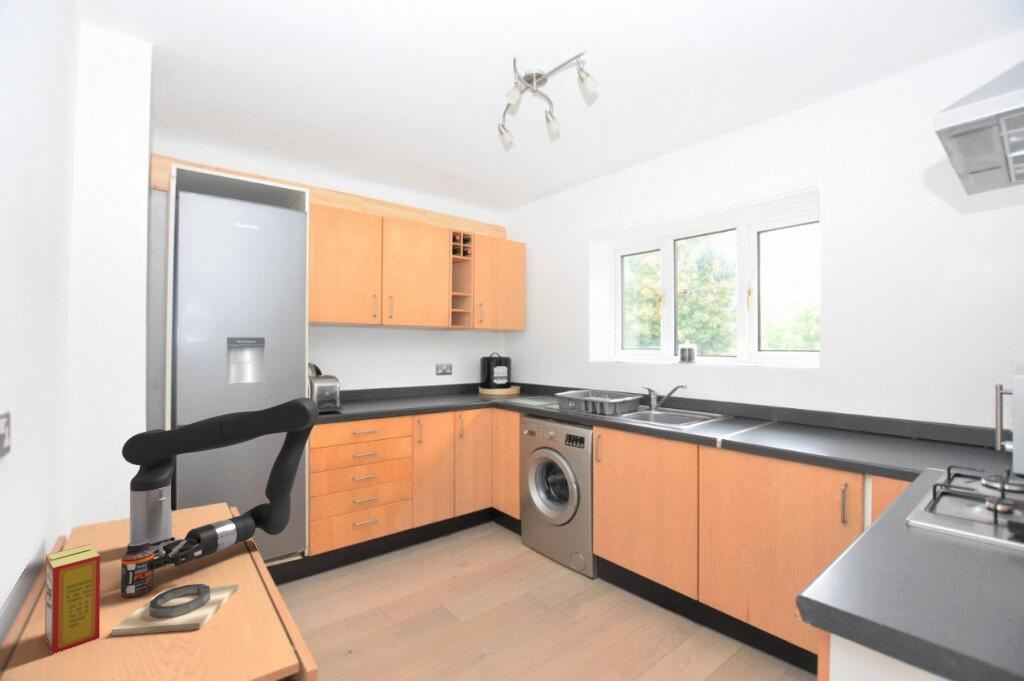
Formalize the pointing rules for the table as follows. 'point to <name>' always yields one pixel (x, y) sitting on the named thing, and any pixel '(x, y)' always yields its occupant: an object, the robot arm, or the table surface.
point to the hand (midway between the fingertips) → (138, 562)
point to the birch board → (191, 621)
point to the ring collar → (180, 609)
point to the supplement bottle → (136, 569)
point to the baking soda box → (72, 597)
